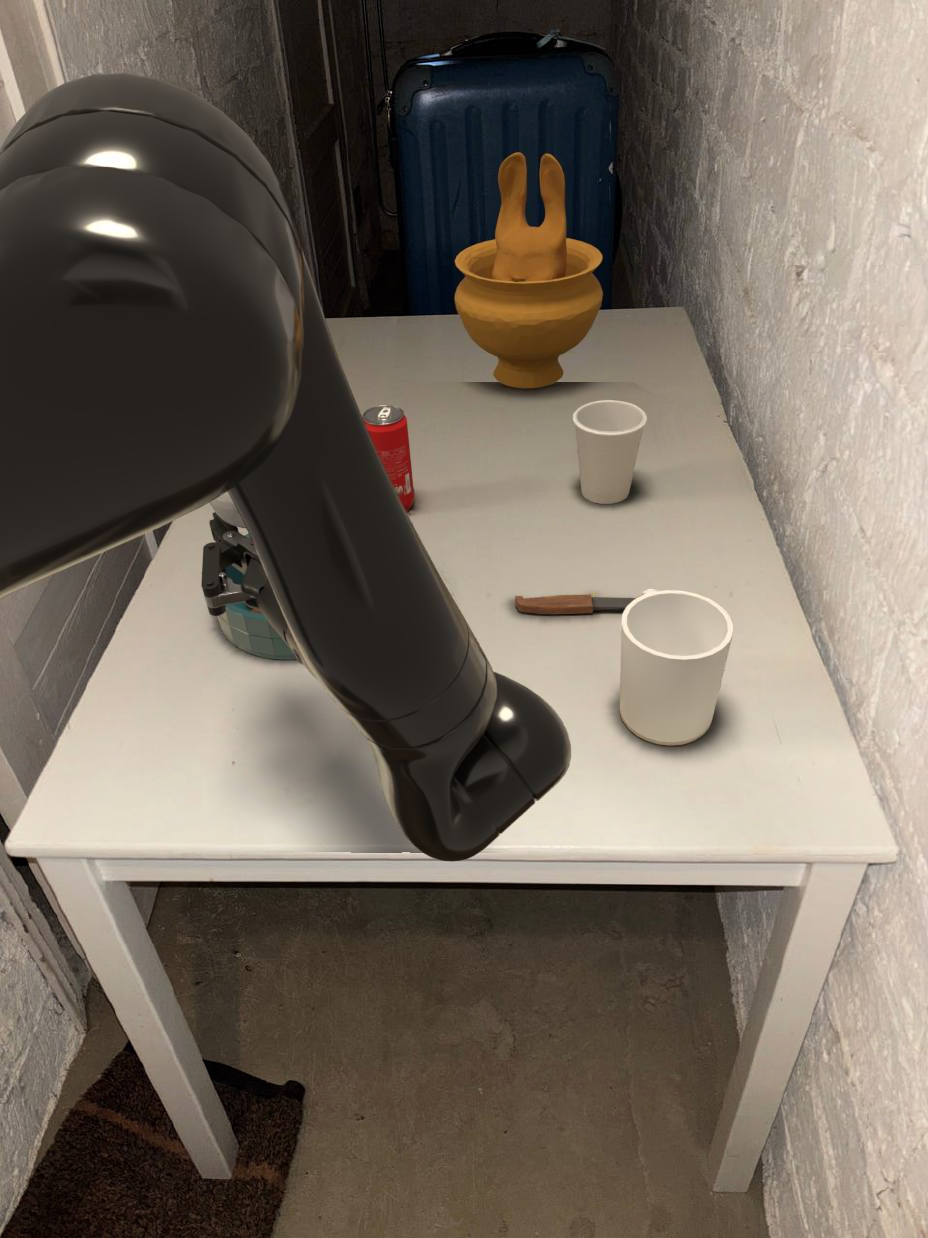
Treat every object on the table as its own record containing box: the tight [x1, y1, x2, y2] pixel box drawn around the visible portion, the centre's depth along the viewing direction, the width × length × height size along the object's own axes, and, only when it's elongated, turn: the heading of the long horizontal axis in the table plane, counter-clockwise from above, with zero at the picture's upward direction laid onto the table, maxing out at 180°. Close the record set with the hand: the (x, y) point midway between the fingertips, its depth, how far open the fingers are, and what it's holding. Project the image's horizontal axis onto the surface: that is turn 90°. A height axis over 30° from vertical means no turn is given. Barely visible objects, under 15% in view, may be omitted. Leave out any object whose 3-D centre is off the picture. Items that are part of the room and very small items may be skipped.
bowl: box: [216, 532, 297, 661], centre depth 94 cm, size 18×18×5 cm
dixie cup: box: [572, 399, 648, 505], centre depth 107 cm, size 8×8×10 cm
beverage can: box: [361, 404, 415, 512], centre depth 106 cm, size 5×5×12 cm
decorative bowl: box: [454, 152, 604, 389], centre depth 128 cm, size 21×21×30 cm
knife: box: [514, 590, 637, 615], centre depth 92 cm, size 17×1×3 cm
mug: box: [619, 588, 734, 747], centre depth 78 cm, size 11×9×10 cm
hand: (241, 513), depth 73 cm, fingers closed on lollipop, 3 cm apart
